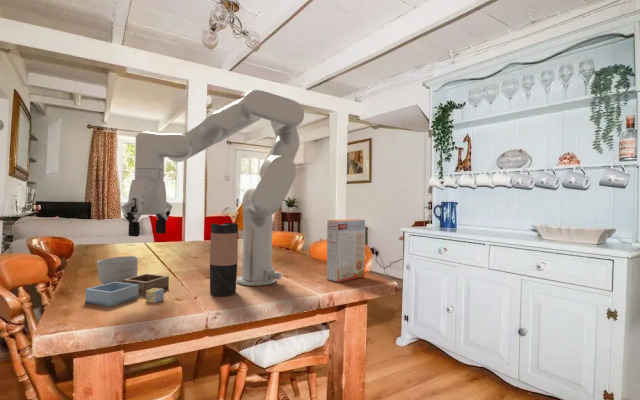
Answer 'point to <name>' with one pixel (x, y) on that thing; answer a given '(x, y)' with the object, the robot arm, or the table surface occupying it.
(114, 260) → the grey piece
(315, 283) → the table surface
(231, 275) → the travel mug
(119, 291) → the slate box
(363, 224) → the cracker box
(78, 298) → the table surface
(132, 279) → the walnut box
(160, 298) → the alphabet block
